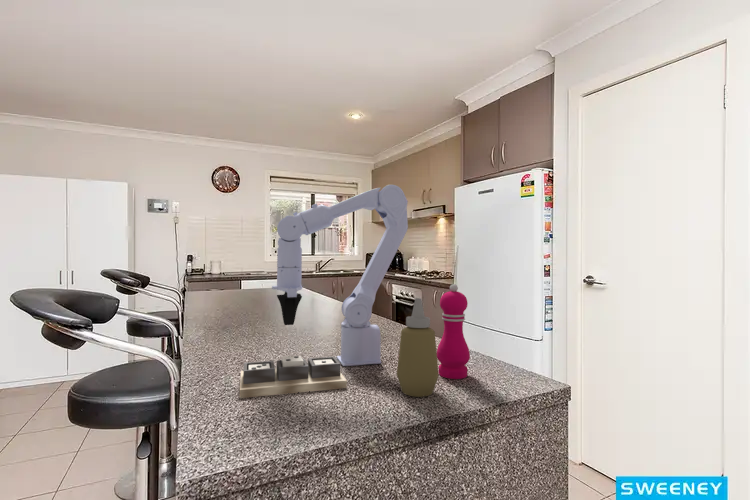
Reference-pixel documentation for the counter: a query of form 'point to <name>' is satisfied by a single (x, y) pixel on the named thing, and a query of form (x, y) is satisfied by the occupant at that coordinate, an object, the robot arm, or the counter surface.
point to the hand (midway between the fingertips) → (288, 324)
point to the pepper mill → (453, 336)
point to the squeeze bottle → (417, 355)
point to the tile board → (291, 378)
